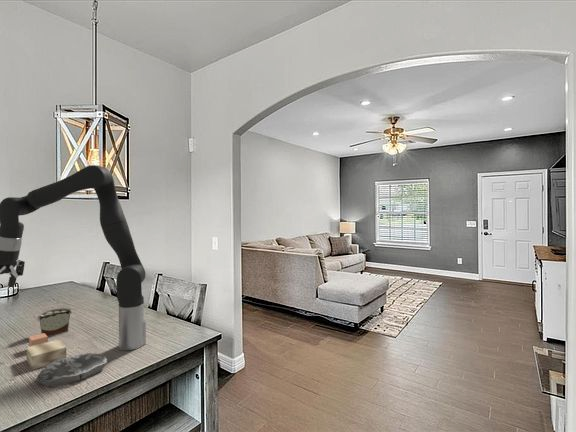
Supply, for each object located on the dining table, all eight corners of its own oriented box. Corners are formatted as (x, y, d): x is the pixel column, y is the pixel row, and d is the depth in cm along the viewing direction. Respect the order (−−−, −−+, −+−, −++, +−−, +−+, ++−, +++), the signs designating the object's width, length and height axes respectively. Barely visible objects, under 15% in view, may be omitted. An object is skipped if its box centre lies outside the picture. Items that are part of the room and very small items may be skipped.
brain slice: (95, 355, 121) (95, 347, 120) (112, 371, 109) (112, 362, 109) (31, 375, 106) (30, 367, 106) (42, 396, 95) (42, 387, 94)
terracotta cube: (44, 345, 128) (44, 333, 128) (47, 348, 125) (47, 336, 124) (29, 349, 124) (28, 336, 124) (31, 353, 121) (31, 340, 121)
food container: (67, 327, 146) (67, 306, 146) (71, 330, 142) (71, 309, 142) (34, 335, 137) (34, 312, 136) (38, 339, 133) (37, 316, 133)
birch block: (59, 351, 123) (59, 339, 123) (66, 360, 116) (66, 347, 116) (26, 360, 116) (26, 347, 115) (32, 370, 109) (32, 356, 109)
